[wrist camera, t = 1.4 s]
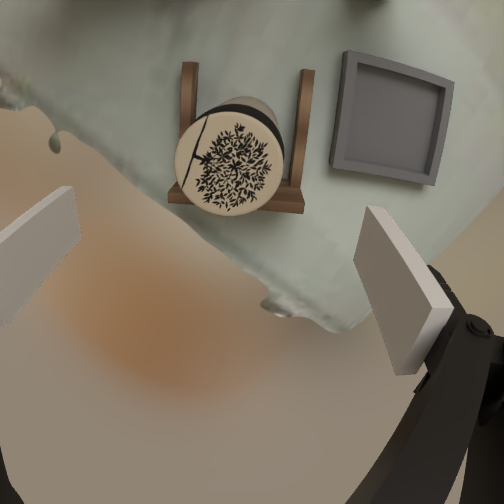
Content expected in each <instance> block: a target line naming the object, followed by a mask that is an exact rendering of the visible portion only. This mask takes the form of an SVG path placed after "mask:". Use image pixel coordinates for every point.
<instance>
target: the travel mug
mask: <svg viewBox="0 0 504 504" xmlns="http://www.w3.org/2000/svg"><path fill="white" fill-rule="evenodd" d="M283 164H284V145H283V141H282V138H281V134H280V131H279V127H278V124H277V120H276V117H275V115H274V113H273V112H272V110H271V109H270V108H269V107H268V106H267V105H266V104H265V103H263V102H262V101H260V100H258V99H255V98H251V97H237V98H233V99H231V100H229V101H227V102H225V103H223V104H221V105H219V106H217V107H215V108H213V109H211V110H209V111H207V112H205V113H204V114H202V115H201V116H200V117H198V118H197V119H196V120H195V121H194V122H193V123H192V125H191V126H190V127H189V128H188V129H187V130H186V131H185V133H184V134H183V136H182V137H181V139H180V141H179V143H178V145H177V148H176V152H175V157H174V169H175V175H176V179H177V181H178V184H179V186H180V188H181V190H182V191H183V193H184V194H185V195H186V197H187V198H188V199H189V200H190V201H191V202H192V203H194V204H195V205H196V206H198V207H199V208H201V209H203V210H204V211H207V212H209V213H212V214H215V215H220V216H240V215H244V214H247V213H250V212H253V211H255V210H257V209H258V208H260V207H261V206H263V205H264V204H265V203H267V202H268V201H269V200H270V199H271V197H272V196H273V195H274V193H275V192H276V190H277V189H278V187H279V184H280V182H281V179H282V174H283Z"/></svg>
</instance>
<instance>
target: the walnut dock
mask: <svg viewBox="0 0 504 504" xmlns="http://www.w3.org/2000/svg"><path fill="white" fill-rule="evenodd" d="M198 67H199V63H196V62H183V65H182V83H181V106H180V139H181V137H182V136H183V134H184V133H185V131H186V130H187V129H188V128H189V127H190V126H191V125H192V123H193V122H194V121H195V120H196V102H197V84H198ZM314 74H315V70H308V69H302V70H301V75H300V84H299V94H298V103H297V112H296V121H295V129H294V138H293V146H292V155H291V163H290V171H289V179H283V178H282V179H281V182H280V184H279V187H278V189H277V190H276V192H275V193H274V195H273V196H272V197H271V199H270V200H269V201H268V202H267V203H265V204H264V205H263V206H261V207H260V208H258V209H257V210H266V211H277V212H287V213H297V214H303V212H304V206H305V202H304V199H303V196H302V192H301V189H300V186H301V179H302V171H303V164H304V157H305V149H306V142H307V134H308V126H309V118H310V109H311V101H312V92H313V83H314ZM168 203H177V204H192V205H195V204H194V203H192V202H191V201H190V200H189V199H188V198H187V197H186V195H185V194H184V193H183V191H182V190H181V188H180V186H179V184H178V181H177V182H176V183H175V184H174V185H173V187H172V188H171V189H170V190H169V191H168Z"/></svg>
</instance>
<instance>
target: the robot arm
mask: <svg viewBox="0 0 504 504" xmlns="http://www.w3.org/2000/svg"><path fill="white" fill-rule="evenodd" d="M81 239H82V234H81V229H80V224H79V218H78V212H77V206H76V199H75V192H74V186H61V187H59V188H58V189H56V190H55V191H54V192H52V193H51V194H49V195H48V196H46V197H45V198H44V199H42V200H41V201H40V202H38V203H37V204H35V205H34V206H33V207H32V208H30V209H29V210H27V211H26V212H25V213H24V214H22V215H21V216H20V217H18V218H17V219H16V220H15V221H13V222H12V223H11V224H10V225H8V226H7V227H6V228H5V229H4V230H2V231H1V232H0V326H2V327H6V328H8V327H9V326H10V324H11V323H12V322H13V320H14V319H15V318H16V316H17V315H18V314H19V312H20V311H21V310H22V308H23V307H24V306H25V305H26V303H27V302H28V301H29V299H30V298H31V297H32V296H33V294H34V293H35V292H36V291H37V290H38V288H39V287H40V286H41V285H42V283H43V282H44V281H45V280H46V279H47V277H48V276H49V275H50V274H51V273H52V272H53V270H54V269H55V268H56V267H57V266H58V265H59V263H60V262H61V261H62V260H63V259H64V258H65V257H66V256H67V254H68V253H69V252H70V251H71V250H72V249H73V248H74V247H75V246H76V245H77V243H78V242H79V241H80V240H81ZM353 261H354V263H355V266H356V268H357V271H358V273H359V276H360V278H361V281H362V283H363V286H364V288H365V291H366V293H367V296H368V298H369V301H370V304H371V306H372V309H373V312H374V314H375V317H376V320H377V323H378V325H379V328H380V331H381V333H382V336H383V339H384V342H385V345H386V348H387V351H388V354H389V357H390V360H391V363H392V366H393V369H394V372H395V375H411V374H416V373H417V372H418V370H419V368H420V367H421V365H422V364H423V362H425V365H426V367H427V370H428V371H427V373H426V374H425V376H424V377H423V379H422V380H421V382H420V383H419V384H418V386H417V387H416V389H415V390H414V391H413V392H414V393H415V395H414V397H413V399H412V401H411V403H410V405H409V407H408V409H407V411H406V412H405V414H404V416H403V418H402V419H401V421H400V423H399V425H398V426H397V428H396V430H395V432H394V433H393V435H392V437H391V438H390V440H389V441H388V443H387V445H386V446H385V448H384V449H383V451H382V453H381V454H380V456H379V457H378V459H377V460H376V462H375V463H374V465H373V466H372V468H371V469H370V471H369V472H368V474H367V475H366V477H365V478H364V479H363V481H362V482H361V483H360V485H359V486H358V488H357V489H356V490H355V491H354V493H353V494H352V495H351V497H350V498H349V499H348V501H347V502H346V503H345V504H444V503H445V501H446V499H447V497H448V494H449V492H450V490H451V488H452V486H453V483H454V481H455V479H456V476H457V474H458V471H459V469H460V466H461V464H462V461H463V459H464V456H465V453H466V451H467V448H468V453H467V462H466V468H465V475H464V482H463V487H462V492H461V497H460V502H459V504H504V337H500V336H496V335H494V332H493V330H492V328H491V327H490V325H489V324H488V323H487V322H486V321H485V320H483V319H482V318H480V317H478V316H475V315H472V314H467V313H466V312H465V310H464V308H463V307H462V305H461V304H460V302H459V301H458V299H457V297H456V296H455V294H454V293H453V292H451V288H450V287H449V286H448V284H446V281H445V280H444V278H443V277H442V276H441V274H440V273H439V272H438V271H437V270H435V269H434V268H433V267H432V266H430V265H426V264H425V263H424V261H423V260H422V259H421V257H420V256H419V254H418V253H417V251H416V250H415V249H414V247H413V246H412V245H411V243H410V242H409V241H408V239H407V238H406V236H405V235H404V234H403V232H402V231H401V230H400V229H399V227H398V226H397V225H396V223H395V222H394V221H393V219H392V218H391V217H390V216H389V214H388V213H387V212H386V211H385V209H384V208H383V207H377V206H370V205H367V206H366V211H365V215H364V219H363V224H362V228H361V232H360V236H359V240H358V244H357V248H356V252H355V255H354V259H353ZM0 504H24V502H23V501H22V499H21V498H20V496H19V495H18V494H17V492H16V491H15V489H14V488H13V487H12V485H11V483H10V482H9V479H8V476H7V472H6V469H5V465H4V461H3V457H2V452H1V448H0Z"/></svg>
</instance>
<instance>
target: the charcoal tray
mask: <svg viewBox="0 0 504 504" xmlns="http://www.w3.org/2000/svg"><path fill="white" fill-rule="evenodd" d="M454 83H455V82H453V81H450V80H448V79H445V78H442V77H440V76H437V75H434V74H431V73H429V72H426V71H423V70H420V69H417V68H414V67H410V66H407V65H404V64H401V63H397V62H394V61H390V60H387V59H383V58H379V57H375V56H371V55H367V54H363V53H359V52H354V51H349V50H348V51H345V52H343V60H342V69H341V78H340V87H339V95H338V103H337V110H336V118H335V125H334V132H333V139H332V145H331V152H330V158H329V164H330V165H331V166H332V168H336V169H343V170H349V171H356V172H362V173H368V174H374V175H380V176H386V177H391V178H396V179H402V180H407V181H412V182H417V183H422V184H426V185H431V186H434V185H435V181H436V177H437V173H438V169H439V165H440V161H441V156H442V152H443V147H444V142H445V138H446V133H447V127H448V122H449V116H450V110H451V104H452V97H453V90H454Z"/></svg>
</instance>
